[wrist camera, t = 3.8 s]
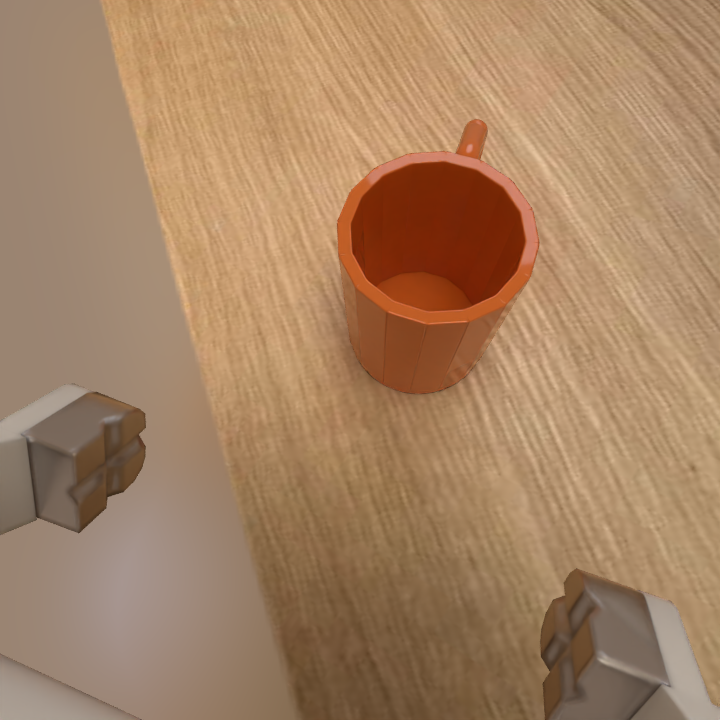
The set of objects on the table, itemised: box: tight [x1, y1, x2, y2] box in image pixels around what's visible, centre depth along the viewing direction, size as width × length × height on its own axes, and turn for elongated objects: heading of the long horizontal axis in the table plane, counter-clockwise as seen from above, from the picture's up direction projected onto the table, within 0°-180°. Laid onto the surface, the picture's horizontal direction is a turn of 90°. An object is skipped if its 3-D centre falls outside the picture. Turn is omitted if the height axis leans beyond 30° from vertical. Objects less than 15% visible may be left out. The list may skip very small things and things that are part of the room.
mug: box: [337, 119, 539, 394], centre depth 20 cm, size 9×6×8 cm
